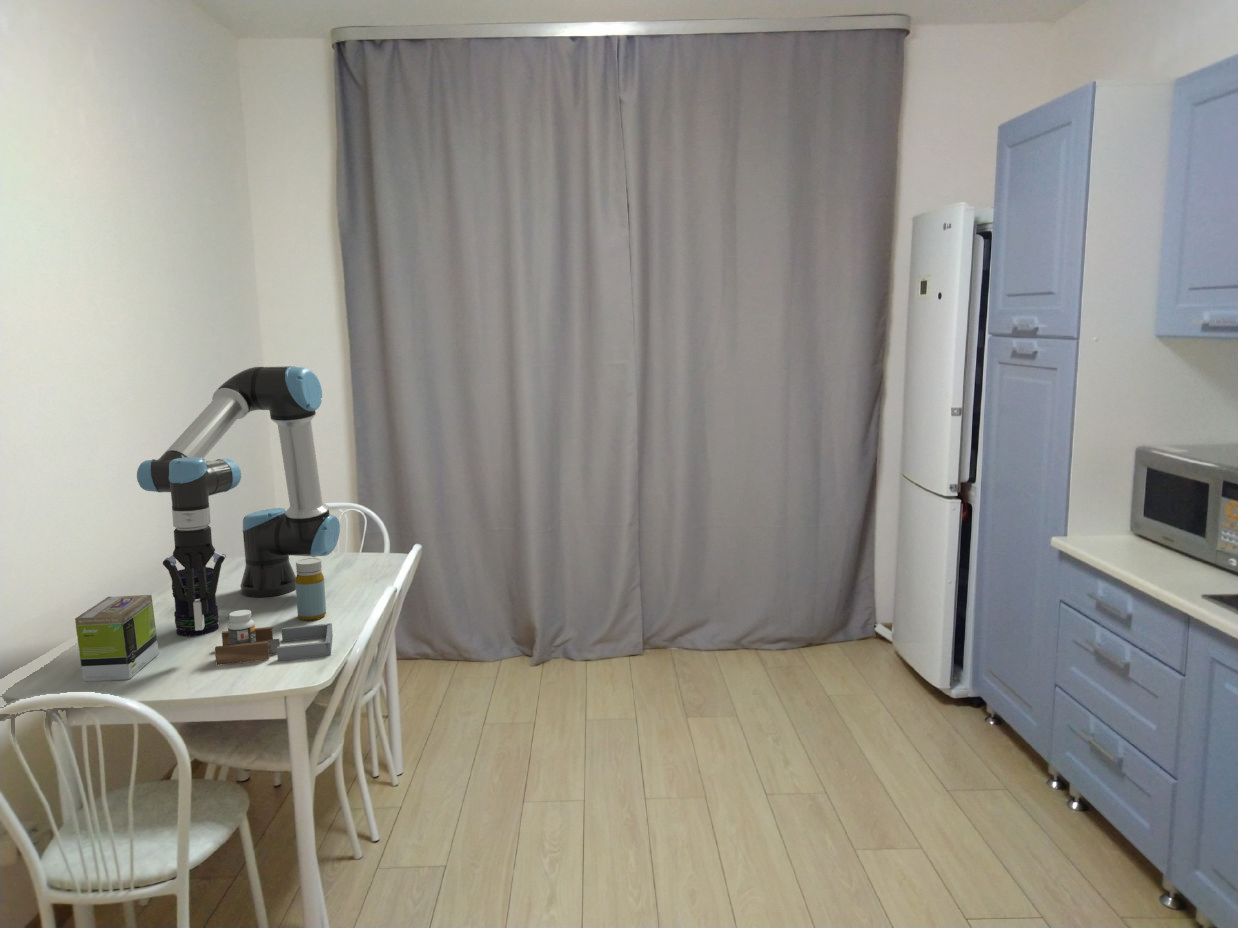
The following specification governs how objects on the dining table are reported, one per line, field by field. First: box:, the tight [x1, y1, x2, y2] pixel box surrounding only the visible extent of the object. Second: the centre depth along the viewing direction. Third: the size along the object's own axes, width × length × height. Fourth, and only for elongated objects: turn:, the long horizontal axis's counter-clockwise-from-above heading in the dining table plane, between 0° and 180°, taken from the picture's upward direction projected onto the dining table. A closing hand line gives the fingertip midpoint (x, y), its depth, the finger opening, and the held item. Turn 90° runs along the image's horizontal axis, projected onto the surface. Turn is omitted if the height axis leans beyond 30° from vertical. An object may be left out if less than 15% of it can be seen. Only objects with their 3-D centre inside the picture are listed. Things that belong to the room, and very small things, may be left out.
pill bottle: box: [227, 609, 256, 645], centre depth 202 cm, size 6×6×10 cm
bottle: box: [295, 557, 327, 621], centre depth 227 cm, size 7×7×15 cm
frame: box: [276, 622, 334, 662], centre depth 207 cm, size 14×12×3 cm
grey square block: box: [261, 638, 281, 656], centre depth 204 cm, size 4×4×2 cm
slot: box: [214, 626, 274, 666], centre depth 203 cm, size 11×11×4 cm
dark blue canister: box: [171, 566, 220, 638], centre depth 218 cm, size 10×10×15 cm
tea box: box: [74, 594, 159, 683], centre depth 194 cm, size 15×10×15 cm, turn 5°
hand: (200, 628), depth 199 cm, fingers closed
